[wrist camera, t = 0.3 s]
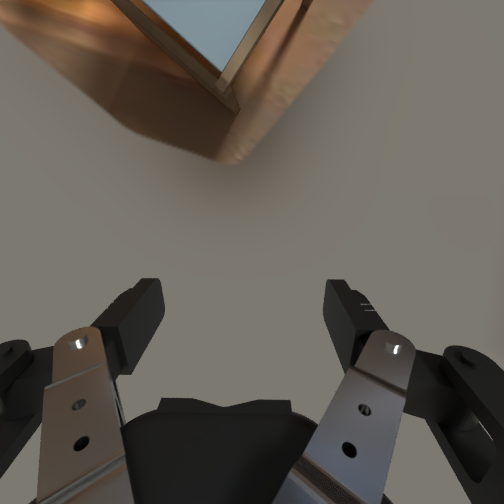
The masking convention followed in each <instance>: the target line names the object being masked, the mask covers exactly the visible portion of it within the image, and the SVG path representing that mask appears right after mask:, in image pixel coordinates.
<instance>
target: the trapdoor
mask: <svg viewBox="0 0 504 504" xmlns="http://www.w3.org/2000/svg"><path fill="white" fill-rule="evenodd" d="M141 1H142V2H143V3H144V4H145V5H147V6H148V7H149V8H150V9H151V10H152V11H153V12H154V13H155V14H156V15H158V16H159V17H160V18H161V19H162V20H163V21H164V22H165V23H166V24H168V25H169V26H170V27H171V28H172V29H173V30H174V31H175V32H176V33H177V34H179V35H180V36H181V37H182V38H183V39H184V40H185V41H186V42H187V43H189V44H190V45H191V46H192V47H193V48H194V49H195V50H196V51H197V52H198V53H200V54H201V55H202V56H203V57H204V58H205V59H206V60H207V61H208V62H210V63H211V64H212V65H213V66H214V67H215V68H216V69H217V70H218V71H219V72H221V73H223V71H224V69H225V68H226V66H227V64H228V63H229V61H230V60H231V58H232V56H233V55H234V53H235V51H236V50H237V48H238V46H239V45H240V43H241V42H242V40H243V38H244V37H245V35H246V33H247V32H248V30H249V28H250V27H251V25H252V24H253V22H254V20H255V19H256V17H257V15H258V14H259V12H260V10H261V9H262V7H263V6H264V4H265V2H266V1H267V0H141Z"/></svg>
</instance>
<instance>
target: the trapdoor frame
mask: <svg viewBox="0 0 504 504" xmlns="http://www.w3.org/2000/svg"><path fill="white" fill-rule="evenodd" d="M111 1H112V2H113V3H114V4H115V5H116V6H117V7H118V8H119V9H120V10H121V11H122V12H123V13H124V14H125V15H126V16H127V17H128V18H129V19H130V21H131V22H132V23H133V24H134V25H135V26H136V27H137V28H138V29H139V30H140V31H141V32H142V33H143V34H144V35H145V36H147V37H148V38H149V39H150V40H151V41H152V42H153V43H155V44H156V45H157V46H158V47H159V48H160V49H161V50H163V51H164V52H165V53H166V54H167V55H168V56H169V57H171V58H172V59H173V60H174V61H175V62H176V63H177V64H179V65H180V66H181V67H182V68H183V69H184V70H185V71H187V72H188V73H189V74H190V75H191V76H192V77H193V78H195V79H196V80H197V81H198V82H199V83H200V84H201V85H203V86H204V87H205V88H206V89H207V90H208V91H209V92H211V93H212V94H213V95H214V96H215V97H216V98H217V99H219V100H220V101H221V102H222V103H223V104H224V105H225V106H227V107H228V108H229V109H230V110H231V111H232V112H233V113H235V114H236V115H237V114H238V112H239V111H240V107H239V105H238V102H237V100H236V98H235V95H234V93H233V91H232V88H231V84H232V83H233V81H234V79H235V78H236V76H237V75H238V73H239V71H240V70H241V68H242V67H243V65H244V64H245V62H246V60H247V59H248V57H249V56H250V54H251V53H252V51H253V49H254V48H255V46H256V45H257V43H258V41H259V40H260V38H261V37H262V35H263V34H264V32H265V30H266V29H267V27H268V26H269V24H270V23H271V21H272V19H273V18H274V16H275V15H276V13H277V11H278V10H279V8H280V7H281V5H282V4H283V2H284V0H267V1H266V2H265V4H264V6H263V7H262V9H261V10H260V12H259V14H258V15H257V17H256V19H255V20H254V22H253V24H252V25H251V27H250V28H249V30H248V32H247V33H246V35H245V37H244V38H243V40H242V42H241V43H240V45H239V46H238V48H237V50H236V51H235V53H234V55H233V56H232V58H231V60H230V61H229V63H228V64H227V66H226V68H225V69H224V71H223V73H222V74H221V76H220V78H219V79H217V78H216V77H215V76H214V75H212V74H211V73H210V72H209V71H208V70H207V69H206V68H205V67H204V66H202V65H201V64H200V63H199V62H198V61H197V60H196V59H195V58H193V57H192V56H191V55H190V54H189V53H188V52H187V51H186V50H185V49H183V48H182V47H181V46H180V45H179V44H178V43H177V42H176V41H174V40H173V39H172V38H171V37H170V36H169V35H168V34H167V33H166V32H164V31H163V30H162V29H161V28H160V27H159V26H158V25H157V24H155V23H154V22H153V21H152V20H151V19H150V18H149V17H148V16H147V15H145V14H144V13H143V12H142V11H141V10H140V9H139V8H138V7H136V6H135V5H134V4H133V3H132V2H131V1H130V0H111ZM312 1H313V0H302V5H303V6H304V7H305V8H306V9H308V7H309V6H310V4H311V3H312Z"/></svg>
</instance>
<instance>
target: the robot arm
mask: <svg viewBox="0 0 504 504" xmlns="http://www.w3.org/2000/svg"><path fill="white" fill-rule="evenodd" d="M164 313H165V304H164V298H163V293H162V287H161V282H160V280H159V279H158V278H142V279H141V280H140V281H139V282H138V283H137V284H136V285H135V286H134V287H133V288H130V289H128V290H127V291H125V292H123V293H122V294H120V295H119V296H118V298H116V299H115V300H114V303H111V304H110V306H109V307H108V308H107V309H106V310H105V311H104V312H103V313H102V314H101V315H100V316H99V317H98V318H97V319H96V320H95V321H94V322H93V323H92V324H91V326H90V327H83V328H79V329H76V330H73V331H71V332H69V333H67V334H65V335H64V336H62V337H61V338H60V339H59V340H58V341H57V342H56V343H55V345H54V346H51V347H46V348H41V349H36V350H31V347H30V345H29V343H28V342H27V341H26V340H12V341H8V342H4V343H2V344H0V478H1V477H2V476H3V474H4V473H5V471H6V470H7V469H8V468H9V466H10V465H11V464H12V462H13V461H14V459H15V458H16V457H17V455H18V454H19V453H20V451H21V450H22V448H23V447H24V446H25V444H26V443H27V441H28V440H29V439H30V438H31V436H32V435H33V434H34V432H35V431H36V430H37V428H38V427H39V425H40V424H41V423H42V428H41V442H40V458H39V472H38V487H37V497H36V498H35V499H34V500H33V501H31V502H30V503H29V504H393V503H392V502H391V501H390V500H389V499H388V498H387V496H386V495H385V494H384V493H383V492H384V488H385V483H386V480H387V476H388V471H389V467H390V463H391V459H392V454H393V451H394V446H395V442H396V438H397V434H398V430H399V425H400V422H401V417H402V413H403V412H404V413H407V414H410V415H413V416H416V417H420V418H423V419H425V420H426V422H427V424H428V426H429V427H430V429H431V431H432V433H433V435H434V436H435V438H436V440H437V442H438V444H439V445H440V447H441V449H442V451H443V453H444V455H445V456H446V458H447V460H448V462H449V464H450V465H451V467H452V469H453V471H454V473H455V474H456V476H457V478H458V480H459V482H460V483H461V485H462V487H463V489H464V491H465V492H466V494H467V496H468V498H469V500H470V501H471V503H472V504H504V371H503V370H502V369H501V368H500V367H499V366H498V365H497V364H496V363H495V362H494V361H493V360H491V359H490V358H489V357H487V356H486V355H484V354H482V353H480V352H478V351H476V350H473V349H470V348H467V347H463V346H449V347H447V348H446V349H445V350H444V353H443V356H440V355H437V354H432V353H428V352H423V351H420V350H416V349H415V347H414V345H413V343H412V342H411V341H410V340H409V339H407V338H406V337H404V336H403V335H401V334H398V333H396V332H393V331H390V330H389V328H388V327H387V326H386V324H385V323H384V322H383V320H382V319H381V317H380V316H379V315H378V313H377V312H376V311H375V310H374V308H373V306H372V305H370V302H369V301H368V300H367V298H366V297H365V296H364V295H363V294H361V293H360V292H358V291H357V290H351V289H350V287H349V286H348V284H347V283H346V281H345V280H335V279H333V280H332V279H331V280H330V279H328V280H327V282H326V289H325V297H324V304H323V316H324V321H325V323H326V326H327V329H328V331H329V334H330V337H331V339H332V342H333V344H334V347H335V350H336V352H337V355H338V357H339V360H340V363H341V365H342V368H343V370H344V373H345V376H344V378H343V380H342V382H341V383H340V386H339V387H338V389H337V391H336V393H335V395H334V397H333V398H332V400H331V402H330V404H329V406H328V408H327V410H326V412H325V414H324V415H323V417H322V419H321V421H320V423H319V425H318V424H316V423H315V422H314V421H313V420H310V419H309V418H307V417H305V416H303V415H301V414H298V413H295V412H292V409H291V401H290V400H254V401H250V402H246V403H241V404H237V405H233V406H229V407H221V406H217V405H214V404H210V403H207V402H204V401H200V400H197V399H193V398H161V401H160V403H159V406H158V408H157V410H153V411H150V412H147V413H145V414H143V415H140V416H138V417H136V418H134V419H133V420H131V421H129V422H128V423H126V421H125V417H124V413H123V409H122V405H121V400H120V396H119V392H118V388H117V384H116V381H115V380H116V379H117V377H118V375H121V374H122V375H131V374H132V372H133V370H134V369H135V367H136V365H137V363H138V362H139V360H140V358H141V356H142V354H143V353H144V351H145V349H146V348H147V346H148V344H149V342H150V340H151V339H152V337H153V335H154V333H155V331H156V330H157V328H158V326H159V325H160V323H161V321H162V319H163V317H164ZM478 421H480V422H481V424H482V425H483V426H484V428H485V429H486V430H487V431H488V433H489V434H490V436H491V438H492V439H493V441H492V439H491V438H490V437H489V435H488V434H487V433H486V431H485V430H484V429H483V427H482V426H481V425H480V423H479V422H478Z"/></svg>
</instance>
